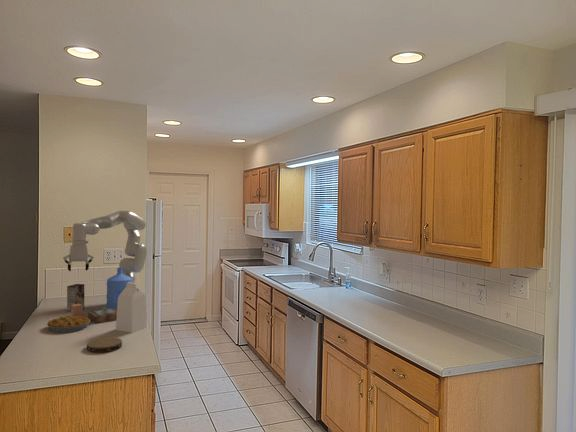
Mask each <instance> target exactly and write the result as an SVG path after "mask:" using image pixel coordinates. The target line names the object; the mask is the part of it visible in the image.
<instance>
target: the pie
mask: <svg viewBox="0 0 576 432" xmlns="http://www.w3.org/2000/svg"><path fill="white" fill-rule="evenodd" d="M90 322H91V320H90V319H89V318H88V316H83V315H82V316H71V315H70V316H68V315H67V316H64V317H63V316H59V317H58V318H52V319H50V320H48V322H47V324H46V326H47V327H49V328H50V329H49V330H50V331H52V332H54V333H70V332H71V333H72V332H77V331H80V330H84V329H86V328H87V327H88V325H89V323H90Z"/></svg>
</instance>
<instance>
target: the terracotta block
mask: <svg viewBox="0 0 576 432" xmlns="http://www.w3.org/2000/svg"><path fill="white" fill-rule="evenodd" d="M70 312H71V315H70V316H83V309H82V305H81V304H73V305H71V311H70Z"/></svg>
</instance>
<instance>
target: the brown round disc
mask: <svg viewBox="0 0 576 432" xmlns="http://www.w3.org/2000/svg"><path fill="white" fill-rule="evenodd" d="M122 340H123V339H121V338H119V337H115V336H114V337H112V336H109V337H108V336H105V337H98V338H93V339H91V340H89V341H88V342H87V343H86V351H87V352H90V353H92V354H104V353H112V352H115V351H116V352H117V351H118V350H119V349H122V346H123V345H122V344H123V341H122Z"/></svg>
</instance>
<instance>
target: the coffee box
mask: <svg viewBox="0 0 576 432" xmlns="http://www.w3.org/2000/svg"><path fill="white" fill-rule="evenodd" d="M73 304H81V305H82V310H83V309H84V308H85V284H83V283H75V284H71V285H67V286H66V310H67V311H69V312H71V305H73Z"/></svg>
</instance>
